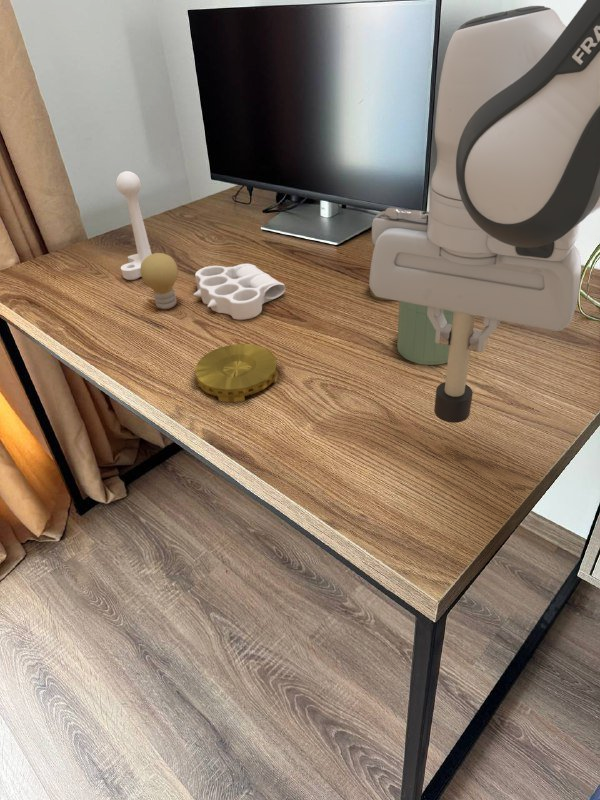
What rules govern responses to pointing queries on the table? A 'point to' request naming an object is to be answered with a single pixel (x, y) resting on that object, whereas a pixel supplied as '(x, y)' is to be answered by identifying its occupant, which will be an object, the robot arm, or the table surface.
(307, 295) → the table surface
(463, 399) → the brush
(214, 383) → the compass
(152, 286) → the light bulb
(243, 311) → the white brass knuckles
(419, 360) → the jar
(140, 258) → the joystick
